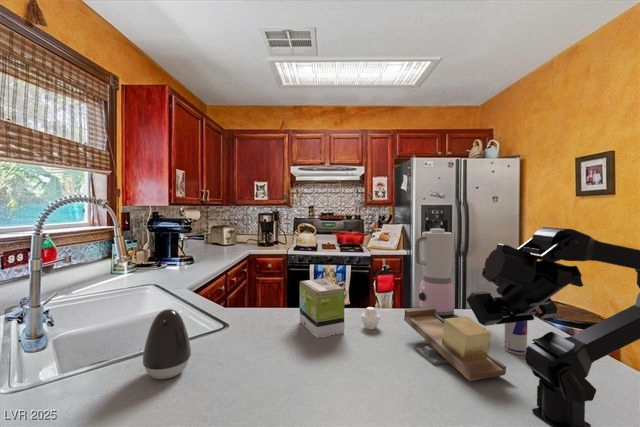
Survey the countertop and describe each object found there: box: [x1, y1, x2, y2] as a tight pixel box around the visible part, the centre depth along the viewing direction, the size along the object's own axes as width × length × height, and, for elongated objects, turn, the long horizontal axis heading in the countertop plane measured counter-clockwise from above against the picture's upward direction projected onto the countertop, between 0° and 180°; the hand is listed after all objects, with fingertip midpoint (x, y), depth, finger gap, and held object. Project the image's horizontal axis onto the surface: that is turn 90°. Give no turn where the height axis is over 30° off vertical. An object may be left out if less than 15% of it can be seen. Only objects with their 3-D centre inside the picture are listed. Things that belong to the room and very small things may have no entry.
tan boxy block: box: [442, 316, 492, 363], centre depth 78 cm, size 8×7×7 cm
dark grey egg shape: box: [142, 308, 192, 380], centre depth 74 cm, size 10×10×15 cm
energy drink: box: [503, 321, 528, 356], centre depth 87 cm, size 5×5×12 cm
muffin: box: [360, 306, 381, 330], centre depth 103 cm, size 6×6×7 cm
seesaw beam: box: [403, 307, 507, 382], centre depth 84 cm, size 28×10×4 cm, turn 16°
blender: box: [414, 228, 455, 316], centre depth 118 cm, size 16×12×32 cm
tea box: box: [299, 278, 345, 339], centre depth 103 cm, size 15×10×15 cm, turn 25°
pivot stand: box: [415, 345, 451, 366], centre depth 84 cm, size 8×14×2 cm, turn 106°
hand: (489, 323), depth 71 cm, fingers open, 3 cm apart
